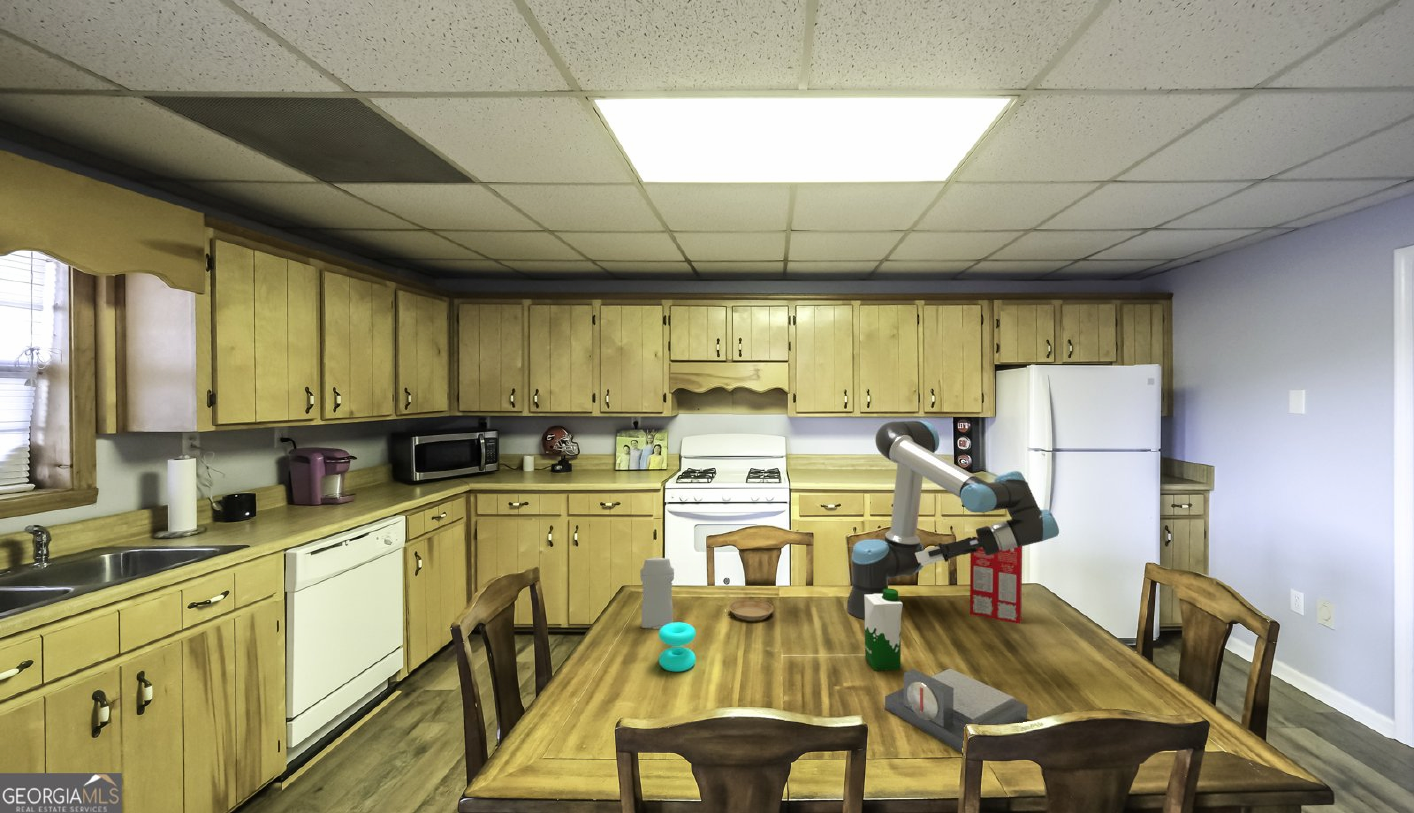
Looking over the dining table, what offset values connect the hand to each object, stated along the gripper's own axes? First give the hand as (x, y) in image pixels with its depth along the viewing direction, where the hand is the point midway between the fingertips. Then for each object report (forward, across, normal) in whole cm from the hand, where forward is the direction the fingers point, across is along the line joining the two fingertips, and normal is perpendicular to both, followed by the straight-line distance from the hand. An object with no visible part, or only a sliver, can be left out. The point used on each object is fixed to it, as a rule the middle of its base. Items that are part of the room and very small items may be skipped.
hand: (918, 559), depth 161 cm
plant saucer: (+58, +12, -2) cm, 59 cm away
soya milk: (+18, -5, -24) cm, 31 cm away
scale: (+3, -21, -36) cm, 42 cm away
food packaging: (-15, +43, -20) cm, 50 cm away
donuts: (+68, -27, -12) cm, 74 cm away
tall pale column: (+82, -9, 0) cm, 82 cm away
